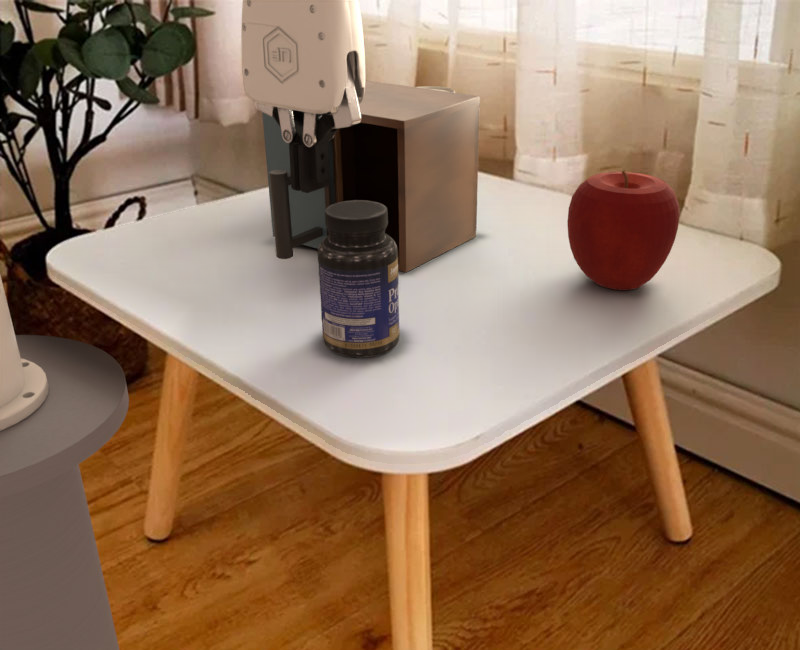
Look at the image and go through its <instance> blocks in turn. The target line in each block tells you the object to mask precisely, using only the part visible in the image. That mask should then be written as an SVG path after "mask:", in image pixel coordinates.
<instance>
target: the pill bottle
mask: <svg viewBox="0 0 800 650" xmlns="http://www.w3.org/2000/svg"><path fill="white" fill-rule="evenodd" d="M325 225H326V227H327V229H328V231H329V236H327V237H326V238H325V239H324V240H323V241H322V242H321V243H320V245H319V248H318V249H317V263H318V277H319V278H318V279H319V280H318V281H319V296H320V313H321V316H320V318H321V319H320V320H321V326H322V327H321V328H322V339H323V344H324V345H325V346H326V347H327V348H328V349H329V350H330V351H331V352H333V353H335V354H337V355H341V356H343V357H349V358H371V357H376V356H379V355H380V356H381V355H384V354H387V353H388V352H391V351H392V350H393V349H394V348H395V347H396V346H397V345H398V343H399V341H400V300H399V299H400V298H399V296H400V295H399V294H400V293H399V270H398V251H397V245H396V243H395V241H394V240H393V239H392V238H391V237H390V236H389V235H387V234H385V229H386V227H387V225H388V212H387V207H386V206H385V205H383V204H381V203H378V202H373V201H367V200H366V201H364V200H354V201H344V202H339V203H335V204H333V205H330V206H329V207H327V208H326V210H325Z"/></svg>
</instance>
